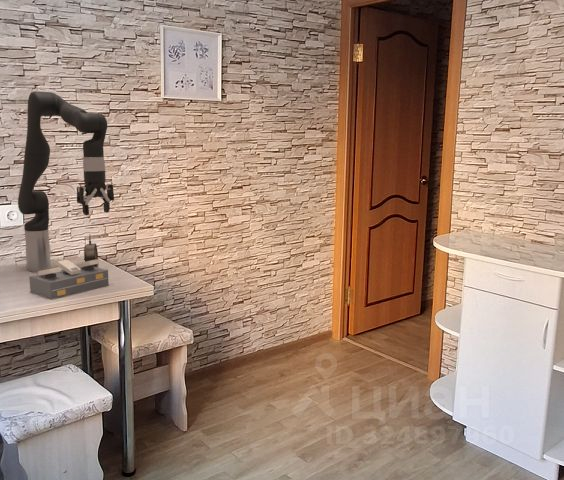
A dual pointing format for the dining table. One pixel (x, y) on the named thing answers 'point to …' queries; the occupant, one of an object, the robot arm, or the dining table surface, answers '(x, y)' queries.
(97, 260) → the rocker
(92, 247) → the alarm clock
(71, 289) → the switch unit
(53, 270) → the rocker
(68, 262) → the rocker
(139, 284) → the dining table surface
